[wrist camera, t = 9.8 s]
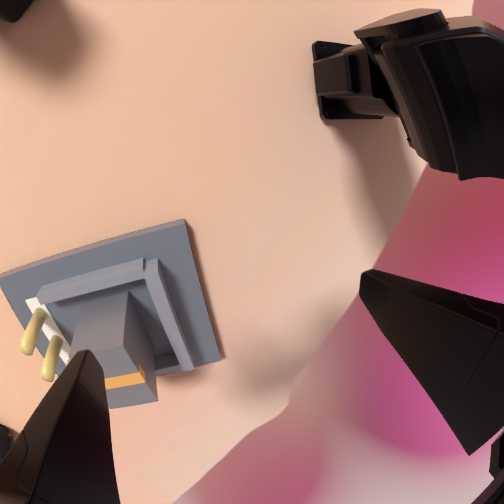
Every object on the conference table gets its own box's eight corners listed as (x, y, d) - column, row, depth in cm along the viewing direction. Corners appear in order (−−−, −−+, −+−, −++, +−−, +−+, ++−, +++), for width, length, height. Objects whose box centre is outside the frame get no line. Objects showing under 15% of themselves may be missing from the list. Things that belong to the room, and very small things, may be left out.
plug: (128, 290, 19) (123, 346, 14) (153, 345, 22) (158, 402, 17) (82, 301, 18) (67, 357, 13) (112, 354, 21) (109, 410, 16)
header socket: (183, 218, 19) (192, 251, 15) (219, 352, 26) (234, 396, 21) (1, 273, 16) (-27, 311, 11) (71, 383, 22) (65, 424, 18)
